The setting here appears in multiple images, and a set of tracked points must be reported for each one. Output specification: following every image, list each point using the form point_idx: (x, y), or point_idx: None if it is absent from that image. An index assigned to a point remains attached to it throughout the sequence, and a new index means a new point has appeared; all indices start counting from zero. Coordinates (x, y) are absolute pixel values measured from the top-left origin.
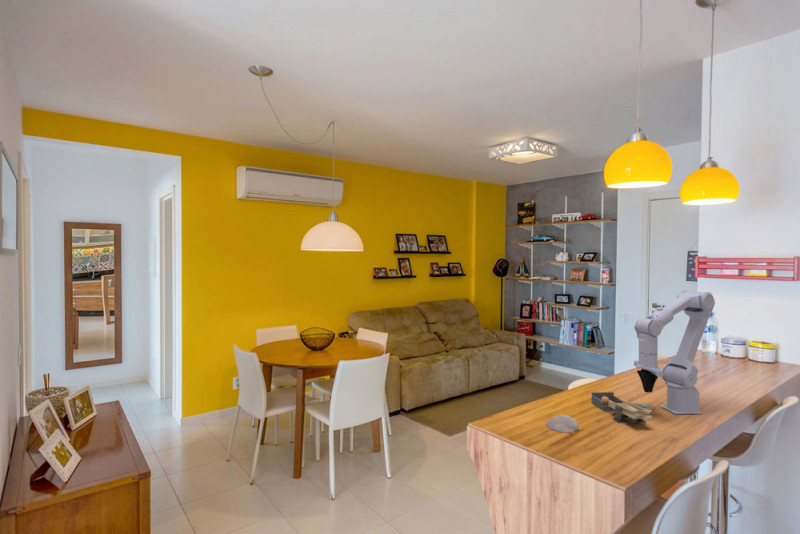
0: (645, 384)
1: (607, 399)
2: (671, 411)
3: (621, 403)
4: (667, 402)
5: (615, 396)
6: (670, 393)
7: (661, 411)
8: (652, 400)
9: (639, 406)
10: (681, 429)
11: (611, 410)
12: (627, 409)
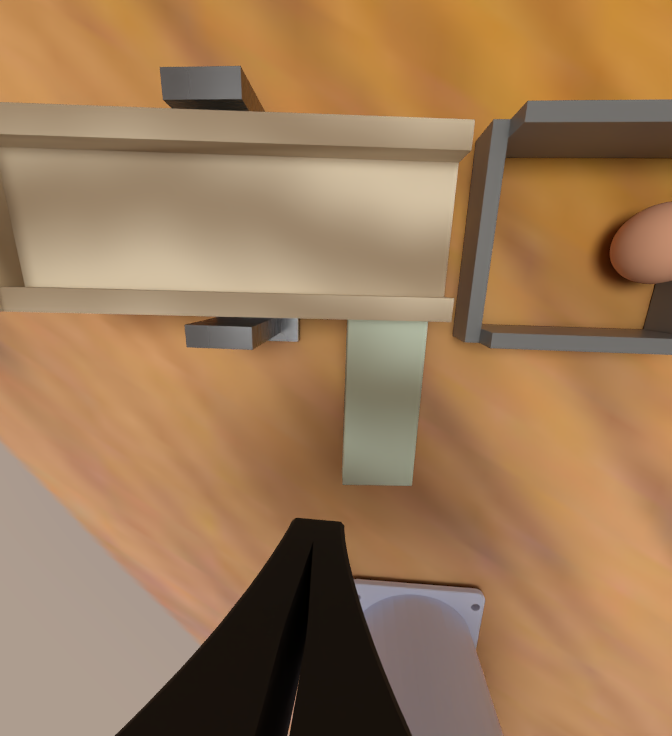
0: (238, 607)
1: (641, 250)
2: (380, 584)
3: (430, 273)
4: (440, 634)
5: (664, 350)
6: (421, 729)
7: (409, 543)
8: (606, 613)
9: (218, 332)
10: (133, 469)
11: (469, 216)
12: (55, 110)
